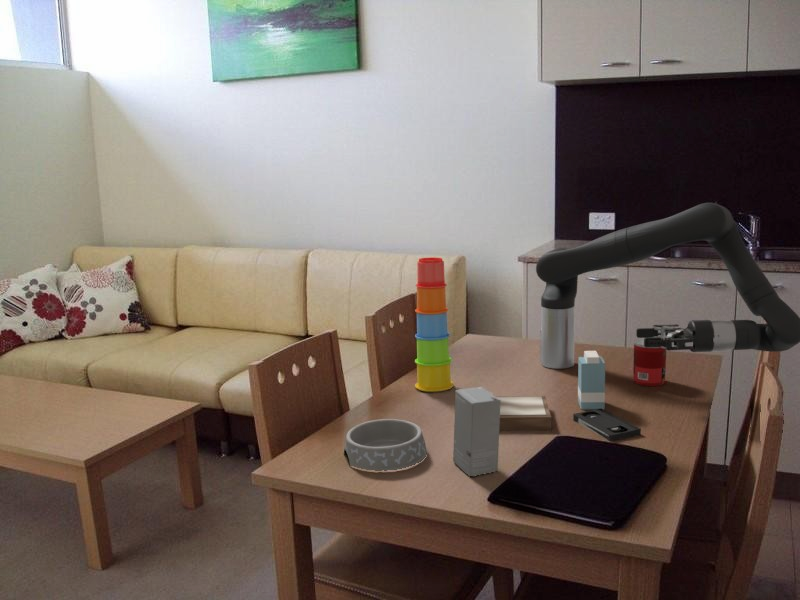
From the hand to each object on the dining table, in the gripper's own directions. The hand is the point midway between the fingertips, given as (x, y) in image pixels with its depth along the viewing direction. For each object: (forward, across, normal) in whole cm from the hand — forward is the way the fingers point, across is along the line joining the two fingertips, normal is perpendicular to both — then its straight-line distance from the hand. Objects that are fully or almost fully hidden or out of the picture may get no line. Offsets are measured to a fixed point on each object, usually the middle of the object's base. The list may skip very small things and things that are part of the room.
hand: (640, 337), depth 181 cm
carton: (+12, 0, +17) cm, 20 cm away
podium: (+30, +8, +16) cm, 35 cm away
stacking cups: (+50, -15, +16) cm, 55 cm away
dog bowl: (+59, +28, +17) cm, 67 cm away
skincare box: (+39, +35, +17) cm, 55 cm away
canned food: (-6, -17, +17) cm, 25 cm away
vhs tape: (+10, +14, +18) cm, 25 cm away
